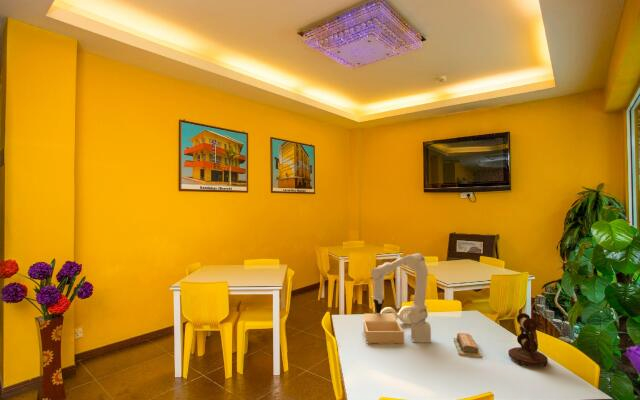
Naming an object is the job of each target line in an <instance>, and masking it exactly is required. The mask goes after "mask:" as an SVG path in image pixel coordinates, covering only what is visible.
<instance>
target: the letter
mask: <svg viewBox="0 0 640 400" xmlns="http://www.w3.org/2000/svg"><path fill="white" fill-rule="evenodd" d="M411 307H412V306H410V305H404V306H402V307H401V308H400V309H399V310H398V312H397V311H396V310H395V309H394V308H393V307H390V306H388V307H387V306H385V307H384V308H383V309H382V308H381V313H379V314H388V313H391V314H394V315H395V318H396V322H398V319H399V321H400V322H401V323H403V324H404V325H411V321H410V320H409V318H408V314H409V312H410V310H411Z"/></svg>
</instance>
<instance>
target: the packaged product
mask: <svg viewBox="0 0 640 400" xmlns="http://www.w3.org/2000/svg"><path fill="white" fill-rule="evenodd" d="M453 342H454V346H455V349H456V351H457V354H458V356H462V357H469V358H470V357H472V358H473V357H474V358H483V355H482V352H481V350H479V347H478V346H477V344H476V341H475V340H474V339H473V336H472V335H471V334H470V333H463V332H457V335H456V337H453Z"/></svg>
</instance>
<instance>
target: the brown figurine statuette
mask: <svg viewBox="0 0 640 400" xmlns="http://www.w3.org/2000/svg"><path fill="white" fill-rule="evenodd" d="M516 322H517V323H518V324H519V325H520V326H519V330H520V334H518V335H517V337H516V341H517V343H518V344H519V345H520V347H519V346H518V347H517V346H516V347H512V348H509V349H508V356H509V357H510V359H513V360H514V361H516V362H518V364H519V366H522V364H525V365H530V366H543V365H544V366H545V367H546V366H547V364H548V361H549V360H548V357H547V356H546V355H545V354H544V353H542V352H541V351H538V348H539V343H538V342H539V341H538V333H537V328H538V322H537V321H536V319H534V318H531V317H530V315H529V314H527V313H525V312H521V313H519V314H518V315H517V316H516ZM544 366H543V367H544Z"/></svg>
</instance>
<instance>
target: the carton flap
mask: <svg viewBox="0 0 640 400" xmlns="http://www.w3.org/2000/svg"><path fill="white" fill-rule="evenodd" d="M363 318H364V322H397V321H396V319H397V318H395V315H394V314H392V313H386V314H380V313H363Z"/></svg>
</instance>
